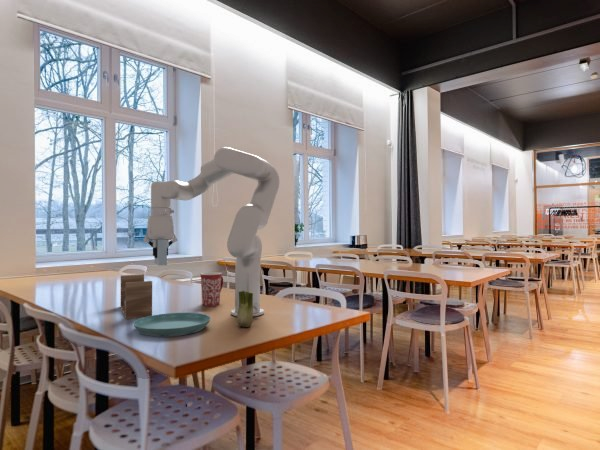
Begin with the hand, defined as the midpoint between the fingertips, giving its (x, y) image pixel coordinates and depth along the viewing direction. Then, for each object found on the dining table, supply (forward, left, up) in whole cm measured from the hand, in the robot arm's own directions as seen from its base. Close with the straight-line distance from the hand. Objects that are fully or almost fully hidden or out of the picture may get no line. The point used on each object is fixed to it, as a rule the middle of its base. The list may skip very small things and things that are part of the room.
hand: (160, 257), depth 167 cm
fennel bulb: (-43, -21, -21) cm, 52 cm away
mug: (+2, -23, -21) cm, 31 cm away
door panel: (0, 0, -3) cm, 3 cm away
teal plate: (-35, +1, -22) cm, 41 cm away
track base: (0, +9, -21) cm, 23 cm away
